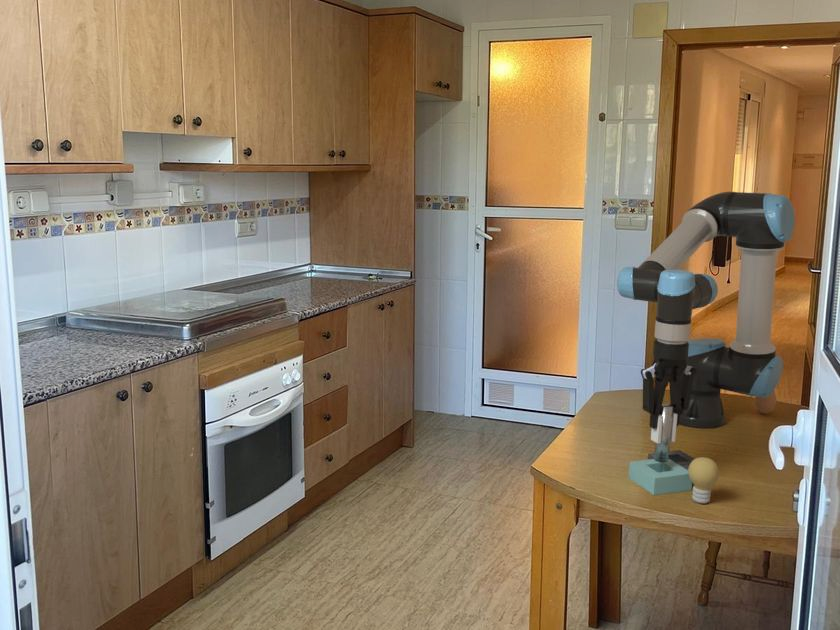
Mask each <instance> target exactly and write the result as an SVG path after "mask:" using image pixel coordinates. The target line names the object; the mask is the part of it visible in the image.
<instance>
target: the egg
mask: <svg viewBox="0 0 840 630" xmlns="http://www.w3.org/2000/svg"><path fill="white" fill-rule="evenodd" d="M754 397H755V398H754V405H755V408H756V410H757V411H758V412H759V413H760V414H763V415H768V414H770V413H772V411H774V410H775V409H776V405H777V395H776V392H775V390H774V391H773V393H772V394H771V395H769V396H768V397H765V398H762V397H756V396H754Z"/></svg>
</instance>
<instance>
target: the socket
mask: <svg viewBox="0 0 840 630" xmlns="http://www.w3.org/2000/svg"><path fill="white" fill-rule="evenodd" d="M628 467H629V469H628V479H629V480H631V481H632V482H634V483H635V484H637V485H638V486H639V487H641V488H642V489H644V490H645V491H647V492H648V493H650V494H651V495H652V496H658V495H665V494H672V493H678V492H679V493H680V492H686V491H692V489H693V487H692V486H693V485H692V484H693V483H692V481H691V479H690V477H689V474H688V470H687V469H685V468H683V467H682V466H680V465H678V464H677V463H675V462H673V461H672V460H670V459H669V461H668V462H665V463H662V462H657V461H655V460H654V459H649V460H648V459H642V460H641V459H640V460H634V461H629V466H628Z"/></svg>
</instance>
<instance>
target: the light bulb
mask: <svg viewBox="0 0 840 630" xmlns="http://www.w3.org/2000/svg"><path fill="white" fill-rule="evenodd" d="M719 469H720V468H719V466H718V465H717V463H716V461H714V460H713V459H711V458H709V457H705V456H704V457H703V456H701V457H699V456H698V457H696V458H694V460H693V461H692V462H691V463H690V465H689V468H688V474H689V477H690V479H691V481H692V484H693V485H692V486H693V487H692V495H691V496H692V497H691V499H692V500H693V501H694V502H695V503H697V504H707V503H709V502H710V501H711V496H712V495H711V493H712V489H711V487H712V486H713V485H715V484H716V482H717V481H718V480H719V477H720V470H719Z"/></svg>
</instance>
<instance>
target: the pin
mask: <svg viewBox="0 0 840 630" xmlns="http://www.w3.org/2000/svg"><path fill="white" fill-rule="evenodd" d="M660 414H661V415H662V416H663V421H662V432H661V443H659V444H657V443H656V442H654V444H655V445H654V452H653V453H654V460H655V461H657V462H662V463H665V462H668V461H669V451H671V450H670V449H671V448H670V447H671V441H670V438H671V427H672V416H673V405H671V404H670V403H665V402H664V403H663V402H662V407H661V411H660Z"/></svg>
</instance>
